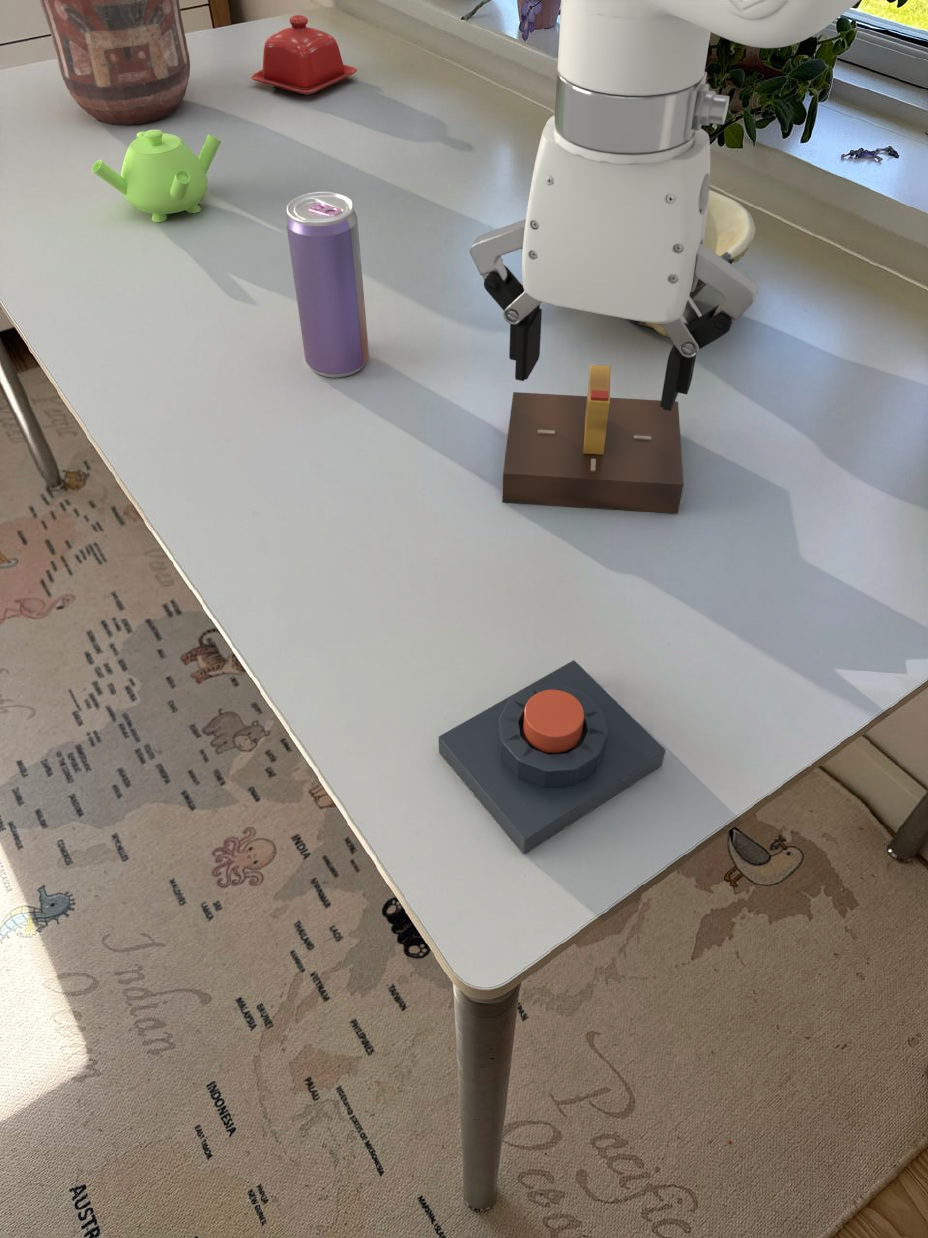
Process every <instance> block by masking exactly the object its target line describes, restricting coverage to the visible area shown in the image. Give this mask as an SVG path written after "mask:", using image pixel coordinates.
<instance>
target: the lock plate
mask: <svg viewBox="0 0 928 1238" xmlns="http://www.w3.org/2000/svg"><path fill="white" fill-rule="evenodd" d="M511 399H512V400H511V407H510V415H509V423H508V432H507V439H506V447H505V454H504V463H503V470H502V471H503V472H502V498H501V499H502V500H501V502H502V503H509V504H524V505H525V504H526V505H541V506H555V507H556V506H557V507H570V508H571V507H572V508H585V509H587V508H588V509H602V510H617V511H632V512H647V513H648V512H649V513H661V514H662V513H664V514H679V510H680V505H681V500H682V494H683V489H684V474H683V473H684V472H683V471H684V469H683V456H682V455H683V453H682V440H681V439H682V438H681V425H680V410H679V400H678V401H677V400H675V402H674V405H673V407H672V410H671V411H668V410H663V407H660V404H661V400H658V399H643V398H642V399H641V398H623V397H610V405H609V413H608V421H607V430H606V438H605V446H604V454H603V455H601V454H585V453H583V451H584V430H585V413H586V403H587V395H573V394H572V395H571V394H570V395H569V394H555V393H538V392H520V391H519V392H518V391H513V392H512V398H511Z"/></svg>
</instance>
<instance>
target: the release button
mask: <svg viewBox="0 0 928 1238" xmlns="http://www.w3.org/2000/svg"><path fill="white" fill-rule="evenodd" d="M583 722H584V710H583V707H582V705H581V704H580V702H579V701H578V700H577V699H576V698H575V697H574V696H572V695H571V694H569V693H567V692H564V691H560V690H545V691H542V692H539V693H537V694H535V695H534V696H533V697H531V698H530V699H529V701H528V702H527V704H526V706H525V711H524V726H523V730H524V734H525V737H526V739H527V740H528V742H529V743H530V744H531V745H532V746H534V747H535V748H537V749H538V750H540V751H543V752H547V753H562V752H565V751H568V750H570V749H571V748H573V747H574V746H575V745H576V744H577V743H578V742H579V740H580V738H581V735H582V729H583Z"/></svg>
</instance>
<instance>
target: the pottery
mask: <svg viewBox="0 0 928 1238" xmlns="http://www.w3.org/2000/svg"><path fill="white" fill-rule="evenodd" d="M39 3H40V5H41V8H42V11H43V15H44V17H45V19H46V23H47V26H48V29H49V32H50V36H51V40H52V43H53V48H54V53H55V56H56V60H57V64H58V67H59V71H60V74H61V77H62V78H61V79H62V80H63V82H64V84H65V86H66V88H67V90H68V92H69V94H70V96H71V97H72V98H73V99H74V101H75V102H76V104H77V105H78V106H79V107H80V108H81V109H82V110H83V111H85V112H86V113H88V114H89V115H90V116H91V117H93V118H94V119H95V120H97V121H99V122H101V123H103V124H104V123H105V124H109V125H116V126H135V125H142V124H148V123H152V122H156V121H159V120H163V119H164V118H166V117H168V116H170V115H171V114H173V113H174V112H175V110H176V109H177V108H178V107H179V105H180V104H181V102H182V101H183V99H184V97H185V95H186V92H187V88H188V84H189V81H190V76H191V60H190V52H189V47H188V43H187V39H186V34H185V28H184V24H183V18H182V12H181V5H180V0H39Z"/></svg>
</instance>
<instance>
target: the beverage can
mask: <svg viewBox="0 0 928 1238" xmlns="http://www.w3.org/2000/svg"><path fill="white" fill-rule="evenodd" d="M286 214H287V215H286V219H285V225H286V232H287V239H288V248H289V253H290V260H291V267H292V274H293V275H292V276H293V282H294V289H295V297H296V303H297V310H298V318H299V323H300V331H301V332H300V333H301V338H302V345H303V353H304V360H305V363H306V364H307V365H308V367H309V369H311V370H312V371H313V372H314V373H316V374H318V375H320V376H322V377H326V378H332V379H333V378H337V379H338V378H345V377H348V376H352V375H354V374H356V373H358V372H359V371H360V370H362V369H363V368H364V366H365V365H366V363H367V362H368V359H369V357H370V349H369V339H368V337H369V336H368V326H367V325H368V324H367V315H366V314H367V313H366V304H365V303H366V302H365V292H364V280H363V270H362V269H363V268H362V256H361V246H360V245H361V244H360V233H359V223H358V222H359V221H358V215H357V213H356V211H355V204H354V202H353V200H352V199H351V198H350V197H349V196H347V195H344V194H342V193H339V192H335V191H314V192H308V193H304V194H301V195H299V196H297V197H295V198H293V199H291V200H290V201H289V203H288V204H287V205H286Z"/></svg>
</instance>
